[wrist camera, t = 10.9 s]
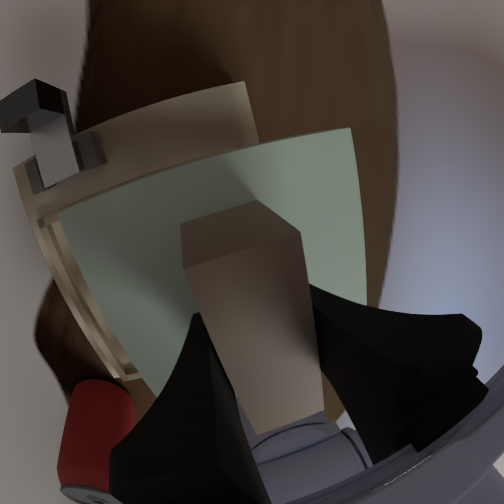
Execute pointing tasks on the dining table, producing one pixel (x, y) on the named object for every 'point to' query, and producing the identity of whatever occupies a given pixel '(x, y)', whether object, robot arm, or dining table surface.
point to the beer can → (92, 439)
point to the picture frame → (121, 172)
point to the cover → (230, 264)
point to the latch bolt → (44, 128)
